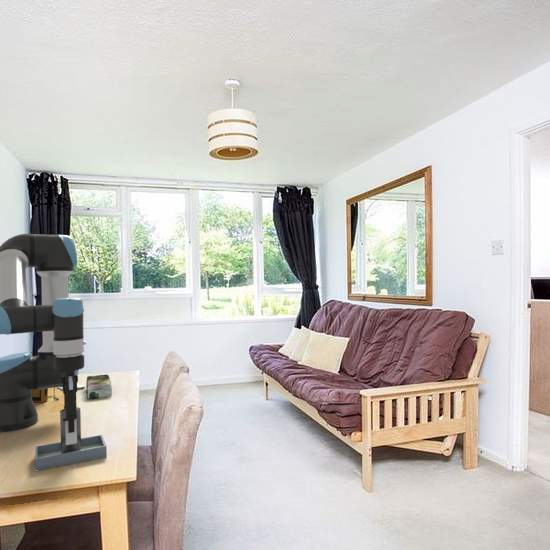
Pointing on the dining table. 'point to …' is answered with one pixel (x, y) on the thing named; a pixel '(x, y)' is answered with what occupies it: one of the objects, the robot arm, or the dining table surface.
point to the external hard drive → (77, 387)
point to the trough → (69, 453)
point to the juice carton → (98, 386)
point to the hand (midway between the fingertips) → (70, 440)
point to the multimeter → (41, 394)
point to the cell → (65, 447)
